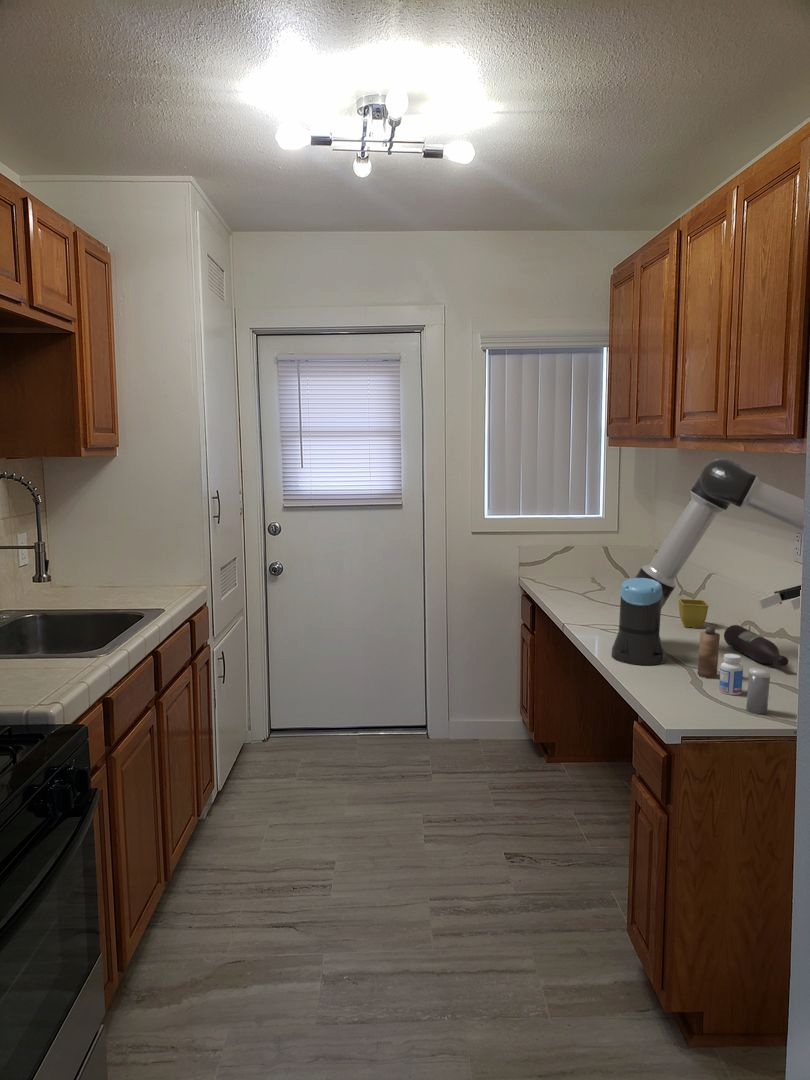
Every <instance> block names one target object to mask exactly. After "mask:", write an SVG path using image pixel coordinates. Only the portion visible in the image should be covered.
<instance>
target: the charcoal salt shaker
mask: <svg viewBox="0 0 810 1080" xmlns="http://www.w3.org/2000/svg"><path fill="white" fill-rule="evenodd" d="M770 680H771V670H770V669H767V668H763V667H759V666H758V667H757V666H756V667H749V671H748V682H747V696H746V707H745V708H746V711H747V712H749V713H751V714H755V715H766V714H767V713H768V704H769V695H770V694H769V691H770Z"/></svg>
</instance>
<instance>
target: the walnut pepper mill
mask: <svg viewBox="0 0 810 1080" xmlns="http://www.w3.org/2000/svg"><path fill="white" fill-rule="evenodd" d="M720 638H721V634H720V633H718V632H716V628H715V627H712V626H707V627H705V631H700V636H699V648H698V650H699V651H698V664H697V674H698V675H699V676H698V675H697V676H698V677H700V676H702V677H701V678H703V677H706V678H705V679H716V678H717V677H718V667H719V652H720Z"/></svg>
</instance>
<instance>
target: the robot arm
mask: <svg viewBox="0 0 810 1080" xmlns="http://www.w3.org/2000/svg"><path fill="white" fill-rule="evenodd" d="M690 496H691V499H690V500H689V503H688V504H687V505H686V507H685V509H684V510H683V511H682V513H681V515H680V516H679V518H678V519H677V521H676V523H675V524H674V525H673V527H672V529H671V530H670V532H669V533H668V535H667V536H666V538H665V540H664V541H663V543H661V545H660V547H659V549H658V550H657V552H656V554H654V555H655V556H654V557H653V558H652V560H651V561H650V563H649V564H646V565H642V566H641V568H640V569H639V571H638V572H637V574H636V576H635V577H634V578H633V577H632V578H627V579H626V580H624V581H623V582H622V583H621V588H620V591H619V592H620V604H619V621H618V622H619V623H618V631H617V632H618V633H617V635H616V637H615V640H614V642H613V644H612V648H611V658H613V659H614V660H616V661H619V662H622V663H626V664H631V665H641V666H644V665H645V666H653V665H659V663H660V664H662V663H664V661H665V651H664V648H663V647H664V646H663V644H662V640H661V636H660V627H661V615H662V614H661V613H662V609H663V607H664V605H666V602H667V600H668V599H669V597H670V596H671V595H672V593H673V591H674V590H675V588H676V586H677V585H676V584H677V583H676V580H675V579H676V577H677V576H678V574H679V573H680V571H681V570H682V568H683V567H684V565H685V564H686V562H687V561H688V559H689V558H690V556H691V554H692V553H693V552H694V550H695V549H696V547H697V545H698V544H699V542H700V541H701V540H702V538H703V536H704V535H705V533H706V532H707V530H708V529H709V528H710V525H711V524H712V522H713V521H714V520H715V518H716V517H717V515H718V514H719V513H723V512H726V511H727V509H728V508H729V506H731V505H734V506H737V507H739V508H744V507H749V508H751V509H753V510H755V511H758V512H760V513H762V514H764V515H767V516H769V517H771V518H774V519H777V520H778V521H780V522H783V523H786V524H788V525H790V526H793V527H795V528H797V529H800V530H801V531H804V530H803V516H804V500H805V499H803V498H800V497H798V496H796V495H793V494H791V493H789V492H786V491H784V490H781V489H779V488H777V487H775V486H772V485H770V484H767V483H765V482H764V481H763V482H762V481H761V480H760V479H759V477H758V475H755V474H753V473H751V472H749V471H747V470H745V469H743V467H742V466H741V465H740V464H739V463H737V462H736V461H735V460H732V459H730V458H727V457H726V458H725V457H724V458H723V457H722V458H717V459H713V460H712V461H710V462H709V463H707V465H706V466H704V468H703V469H702V471H701V473H700V475H699V477H698V478H697V480H696V482H695V483H694V484H693V487H691V489H690ZM730 504H731V505H730ZM801 585H802V584H800V585H796V586H793V587H788V588H785V589H781V590H776V591H774V592H773V594H771V595H768V596H764V597H761V598H760V599H759V598H758V599H757V602H758V606H759V608H760V610H764V609H767V608H770V607H772V606H775V605H777V604H779V605H782V604H783V602H784V601H788V602H789V604H790V608H791V610H792V611H795V610H799V609H801V608H800V590H801Z"/></svg>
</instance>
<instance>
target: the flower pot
mask: <svg viewBox="0 0 810 1080" xmlns="http://www.w3.org/2000/svg"><path fill="white" fill-rule="evenodd" d="M708 609H709V604H708V603H707V602H706V600H704V599H703V600H702V599H691V598H690V599H686V598H679V599H678V612H679V617H680V620H681V622H682V624H683V626H684V628H686V627H688V628H689V627H692V628H693V629H701V628H702V627H703V625H704V623H705V622H706V619H707V615H708Z"/></svg>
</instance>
